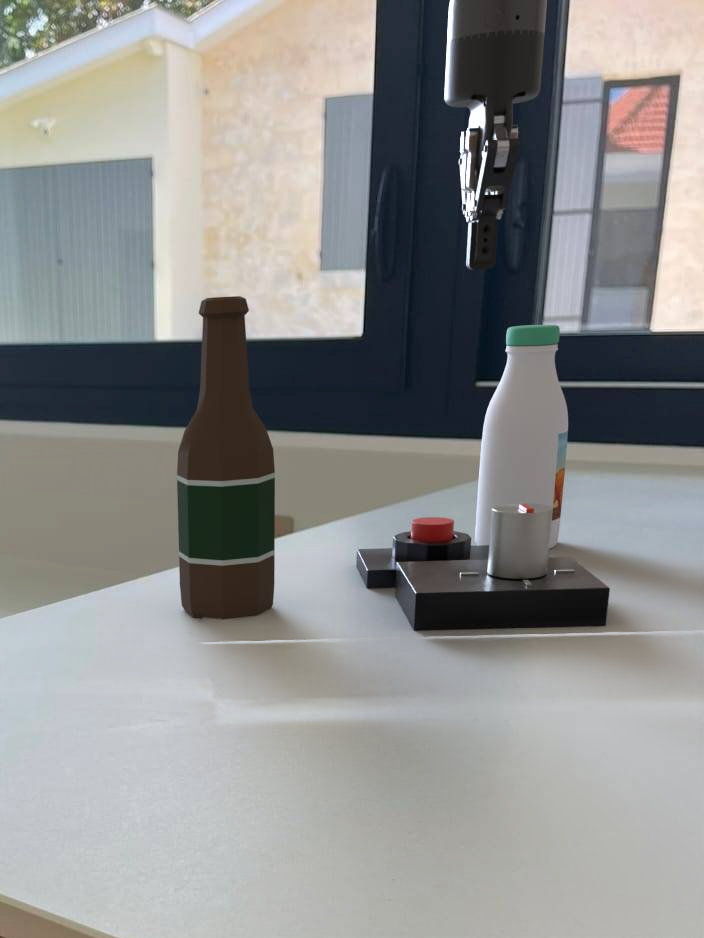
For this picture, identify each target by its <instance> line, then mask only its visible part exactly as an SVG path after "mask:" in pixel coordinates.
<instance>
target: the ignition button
mask: <svg viewBox="0 0 704 938" xmlns="http://www.w3.org/2000/svg"><path fill="white" fill-rule="evenodd" d="M410 523H411V524H410V525H411V526H410V531H411V540H415V541H426V542H439V541H448V540H453V531H455V530H454V528H455V520H454V519H452V518H448V517H441V516H440V517H439V516H435V517H434V516H428V517H418V518H414V519H412V520H411V522H410Z"/></svg>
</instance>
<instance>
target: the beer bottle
mask: <svg viewBox="0 0 704 938" xmlns="http://www.w3.org/2000/svg"><path fill="white" fill-rule="evenodd" d="M248 312H250V309H249V305H248V302H247V298H245V297H243V296H239V295H235V296H234V295H233V296H217V297H216V296H215V297H205V298H203V300H201V301H200V305H199V310H198V315H199V316H201V317H202V329H201V331H202V334H201V357H200V379H199V381H200V383H199V384H200V386H199V395H198V400H197V407H196V410H195V413H194V415H193V416H192V417H191V419H190V421H189V423H188V424H187V426H186V428H185V429H184V431H183V434H182V438H181V440H180V444H179V447H178V451H177V466H176V487H177V488H176V491H177V527H178V529H177V531H178V533H177V534H178V565H179V566H178V567H179V590H180V602H181V603H180V604H181V606H182V609H183V610H184V611H185V612H186V613H187V614H189V615H190V616H191V617H192V618H197V619H203V618H207V619H216V620H217V619H218V620H230V619H239V618H248V617H249V618H250V617H257V616H258V615H261V614H263V613H265V612H266V611H268V610H270V609H272V607H273V605H274V598H275V596H274V594H275V564H276V563H275V561H276V560H275V558H276V557H275V549H276V548H275V546H276V545H275V541H276V539H275V537H276V534H275V532H276V531H275V530H276V529H275V528H276V523H275V522H276V516H275V515H276V513H275V512H276V470H275V469H276V468H275V455H274V447H273V444H272V441H271V438H270V436H269V432H268V430H267V427H266V426H265V424H264V423H263V421H262V420H261V419H260V417H259V415H258V414H257V412H256V411H255V409H254V407H253V401H252V395H251V390H250V379H249V378H250V377H249V363H248V361H249V360H248V348H247V347H248V346H247V331H246V315H247V314H248Z"/></svg>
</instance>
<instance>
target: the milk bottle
mask: <svg viewBox="0 0 704 938" xmlns="http://www.w3.org/2000/svg"><path fill="white" fill-rule="evenodd" d="M560 333H561V328H560V326H559V325H558V324H557V325H556V324H528V325H525V324H524V325H515V326H509V327H508V328H507V330H506V335H505V344H506V348H505V353H506V355H507V357H506V359H507V360H506V365H505V367H504V371H503V373H502V376H501V379H500V381H499V383H498V385H497V387H496V389H495V391H494V393H493V395H492V397H491V399H490V401H489V403H488V406H487V409H486V413H485V416H484V421H483V427H482V436H481V446H480V457H479V470H478V471H479V473H478V484H477V500H476V513H475V529H474V542H475V544H476V546H478V545H489V542H490V529H491V515H492V508H493V507H494V506H497V505H502V504H512V503H532V504H542V505H547V506H550V507H552V509H553V510H552V521H551V532H550V543H549V550H550V549H553V548H554V547H556V545H557V543H558V542H559V536H560V535H559V534H560V527H561V515H562V505H563V495H564V484H565V475H566V472H565V470H566V462H567V450H568V435H569V414H568V412H569V411H568V405H567V402H566V401H567V400H566V398H565V394H564V392H563V389H562V388H561V384H560V381H559V378H558V373H557V368H556V362H555V361H556V358H555V357H556V353H557V351H558V350H559V348H558V346H559V341H560Z"/></svg>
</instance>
